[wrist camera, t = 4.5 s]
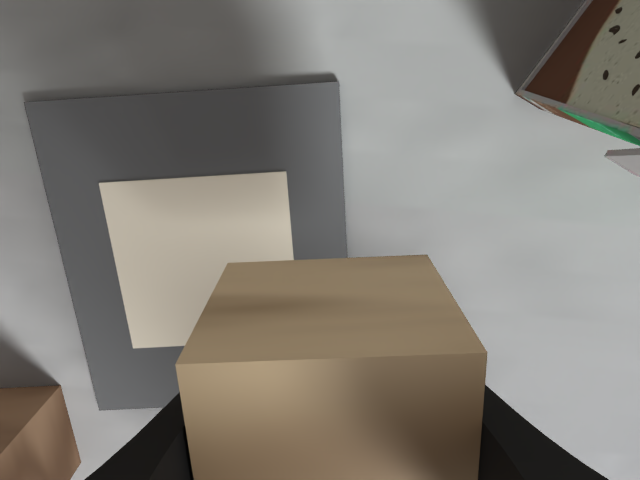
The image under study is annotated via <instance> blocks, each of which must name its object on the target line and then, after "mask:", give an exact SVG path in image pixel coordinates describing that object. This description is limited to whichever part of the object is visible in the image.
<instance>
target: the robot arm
mask: <svg viewBox="0 0 640 480" xmlns="http://www.w3.org/2000/svg"><path fill="white" fill-rule="evenodd" d="M85 480H194V478H193V472H192V465H191V459H190V453H189V447H188V440H187V434H186V428H185V422H184V416H183V409H182V403H181V397H180V392H179V393H178V394H177V395H176V396H175V397H174V398H173V399H172V400H171V401H170V402H169V403H168V404H167V405H166V406H165V407H164V408H163V409H162V410H161V411H160V412H159V413H158V414H157V415H156V416H155V417H154V418H153V419H152V420H151V421H150V422H149V423H148V424H147V425H146V426H145V427H144V428H143V429H142V430H141V431H140V432H139V433H138V434H137V435H136V436H135V437H133V438H132V439H131V440H130V441H129V442H128V443H127V444H126V445H124V446H123V447H122V448H121V449H120V450H119V451H118V452H117V453H115V454H114V455H113V456H112V457H111V458H110V459H109V460H107V461H106V462H105V463H104V464H103V465H102V466H101V467H99V468H98V469H97V470H96V471H95V472H93V473H92V474H91V475H90V476H88V477H87V478H86V479H85ZM478 480H608V479H607V478H605V477H604V476H602V475H601V474H599V473H598V472H596V471H594V470H593V469H591V468H590V467H588V466H587V465H585V464H584V463H582V462H581V461H579V460H578V459H577V458H575V457H574V456H572V455H571V454H570V453H568V452H567V451H566V450H564V449H563V448H561V447H560V446H559V445H557V444H556V443H555V442H553V441H552V440H551V439H549V438H548V437H547V436H545V435H544V434H543V433H542V432H540V431H539V430H538V429H537V428H535V427H534V426H533V425H532V424H530V423H529V422H528V421H527V420H525V419H524V418H523V417H522V416H521V415H519V414H518V413H517V412H516V411H515V410H514V409H512V408H511V407H510V406H509V405H508V404H507V403H505V402H504V401H503V400H502V399H501V398H500V397H499V396H497V395H496V394H495V393H494V392H493V391H492V390H491V389H490V388H488V387H487V386H486V385H485V391H484V404H483V417H482V431H481V444H480V457H479V470H478Z"/></svg>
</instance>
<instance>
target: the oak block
mask: <svg viewBox="0 0 640 480" xmlns="http://www.w3.org/2000/svg"><path fill="white" fill-rule="evenodd" d="M486 364H487V351H486V350H485V348H484V346H483V345H482V343H481V341H480V340H479V338H478V337H477V335H476V333H475V332H474V330H473V328H472V327H471V325H470V324H469V322H468V320H467V319H466V317H465V315H464V314H463V312H462V311H461V309H460V307H459V306H458V304H457V302H456V301H455V299H454V298H453V296H452V294H451V293H450V291H449V289H448V288H447V286H446V285H445V283H444V281H443V280H442V278H441V276H440V275H439V273H438V272H437V270H436V268H435V267H434V265H433V263H432V262H431V260H430V259H429V257H428V255H407V256H383V257H358V258H334V259H309V260H285V261H260V262H236V263H227V265H226V267H225V269H224V271H223V273H222V275H221V277H220V279H219V281H218V283H217V284H216V286H215V288H214V290H213V292H212V294H211V296H210V298H209V300H208V302H207V304H206V306H205V308H204V310H203V312H202V314H201V315H200V317H199V319H198V321H197V323H196V325H195V327H194V329H193V331H192V333H191V335H190V337H189V339H188V341H187V343H186V345H185V346H184V348H183V350H182V352H181V354H180V356H179V358H178V360H177V362H176V364H175V366H176V372H177V378H178V384H179V391H180V397H181V403H182V409H183V416H184V422H185V428H186V434H187V440H188V447H189V453H190V459H191V465H192V472H193V478H194V480H478V470H479V457H480V444H481V431H482V417H483V404H484V391H485V377H486Z"/></svg>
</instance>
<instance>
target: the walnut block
mask: <svg viewBox="0 0 640 480" xmlns="http://www.w3.org/2000/svg"><path fill="white" fill-rule="evenodd" d="M80 463H81V460H80V456H79V452H78V449H77V445H76V441H75V437H74V434H73V430H72V426H71V423H70V419H69V415H68V411H67V408H66V404H65V400H64V396H63V393H62V389H61V385H57V386H37V387H17V388H0V480H70V479H71V477H72V476H73V474H74V473H75V471H76V469H77V468H78V466H79V465H80Z"/></svg>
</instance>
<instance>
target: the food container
mask: <svg viewBox="0 0 640 480" xmlns="http://www.w3.org/2000/svg"><path fill="white" fill-rule="evenodd" d="M515 94H516V95H517V96H519V97H521V98H522V99H524V100H526V101H527V102H529V103H531V104H532V105H534V106H536V107H537V108H539V109H541V110H544V111H547V112H549V113H552V114H555V115H557V116H560V117H563V118H565V119H568V120H571V121H574V122H576V123H579V124H582V125H584V126H587V127H590V128H592V129H595V130H598V131H601V132H603V133H606V134H609V135H611V136H614V137H617V138H620V139H622V140H625V141H628V142H630V143H633V144H636V145H638V146H640V0H586V1H585V2H584V3H583V5H582V6H581V7H580V9H579V10H578V11H577V12H576V14H575V15H574V16H573V18H572V19H571V20H570V22H569V23H568V24H567V26H566V27H565V28H564V30H563V31H562V32H561V34H560V35H559V36H558V38H557V39H556V40H555V42H554V43H553V44H552V46H551V47H550V48H549V50H548V51H547V52H546V54H545V55H544V56H543V58H542V59H541V60H540V62H539V63H538V64H537V65H536V67H535V68H534V69H533V71H532V72H531V73H530V75H529V76H528V77H527V79H526V80H525V81H524V83H523V84H522V85H521V87H520V88H519V89H518V91H517V92H516V93H515ZM604 157H606V158H608V159H609V160H611V161H613V162H614V163H616V164H618V165H619V166H621V167H623V168H624V169H626V170H628V171H629V172H631V173H633V174H634V175H636V176H639V177H640V148H637V149H622V150H608V151H607V153H606V154H605V156H604Z"/></svg>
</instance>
